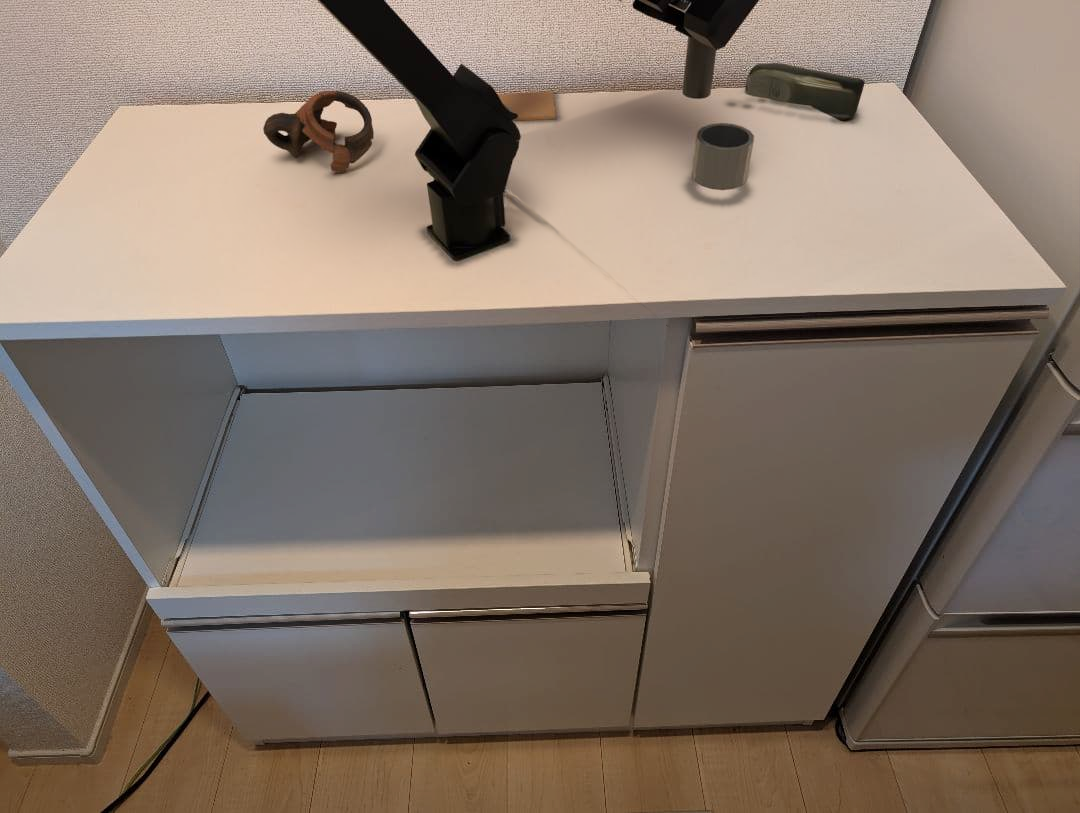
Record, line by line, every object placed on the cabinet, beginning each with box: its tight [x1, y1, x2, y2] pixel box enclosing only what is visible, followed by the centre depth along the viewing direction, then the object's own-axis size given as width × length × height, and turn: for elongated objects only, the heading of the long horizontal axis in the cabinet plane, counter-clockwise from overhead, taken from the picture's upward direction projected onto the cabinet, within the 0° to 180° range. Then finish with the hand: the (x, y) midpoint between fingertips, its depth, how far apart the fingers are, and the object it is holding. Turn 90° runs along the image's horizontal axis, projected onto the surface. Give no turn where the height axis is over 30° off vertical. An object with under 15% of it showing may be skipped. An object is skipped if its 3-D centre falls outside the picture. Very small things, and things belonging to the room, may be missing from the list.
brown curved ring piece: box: [262, 90, 375, 174], centre depth 91 cm, size 12×10×8 cm
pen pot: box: [691, 122, 755, 191], centre depth 85 cm, size 6×6×6 cm
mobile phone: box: [744, 62, 866, 121], centre depth 97 cm, size 5×3×15 cm
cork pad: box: [497, 91, 557, 122], centre depth 101 cm, size 9×7×1 cm
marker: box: [681, 36, 717, 100], centre depth 80 cm, size 3×3×15 cm
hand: (713, 36), depth 82 cm, fingers closed on marker, 3 cm apart
